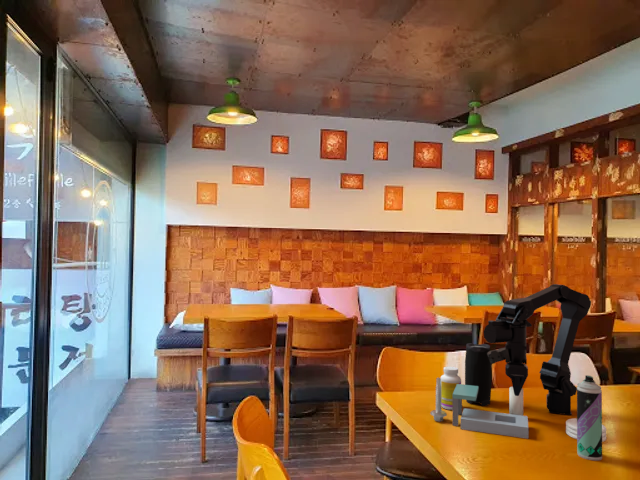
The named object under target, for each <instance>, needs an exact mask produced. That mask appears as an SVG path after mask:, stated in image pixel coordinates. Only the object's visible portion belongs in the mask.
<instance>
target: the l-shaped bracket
mask: <svg viewBox="0 0 640 480" xmlns="http://www.w3.org/2000/svg"><path fill="white" fill-rule="evenodd" d="M477 394H478V386H472V385H465V384H462V383H461V384H457V385H456V387H455V390H454V392H453V410H452V426H454V427H458V426H459V416H462V413H463V400H465V401H466V400H472V401H476V398H477Z"/></svg>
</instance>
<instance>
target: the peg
mask: <svg viewBox="0 0 640 480" xmlns="http://www.w3.org/2000/svg"><path fill="white" fill-rule="evenodd" d="M508 392H509V393H508V394H509V395H508V396H509V399H508V400H509V404H508V405H509V406H508V407H509V409H508V410H509V413H508V414H513V415H521V416H524V388H523V387H522V389H521V392H520V394H519V396H515V394H514V390H513V386H510V387H509V391H508Z"/></svg>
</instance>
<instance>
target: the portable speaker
mask: <svg viewBox="0 0 640 480" xmlns="http://www.w3.org/2000/svg"><path fill="white" fill-rule="evenodd" d="M465 347H466V348H465V359H464V385H472V386H478V394H477V398H476V401H472V400H465V401H466V403H467V404H469V405H472V404H473V403H474V404H480V405H481V406H483V407H486V406H489V405H491V396H492V364H491V363H490V360H489V358H488V355H487V353H488V352H489V351H491V345H489V344H486V343H481V344H480V343H479V344H476V343H470V342H469V343H466V345H465Z"/></svg>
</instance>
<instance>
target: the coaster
mask: <svg viewBox="0 0 640 480" xmlns="http://www.w3.org/2000/svg"><path fill="white" fill-rule="evenodd" d="M565 433H566V434H567V436H569V437H571V438H572V439H574V440H577V417H575V418H574V417H573V418H569V419H567V420H566V421H565ZM605 441H607V427H606V426H605V425H604V424H603V423H602V443H603V442H605Z"/></svg>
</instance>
